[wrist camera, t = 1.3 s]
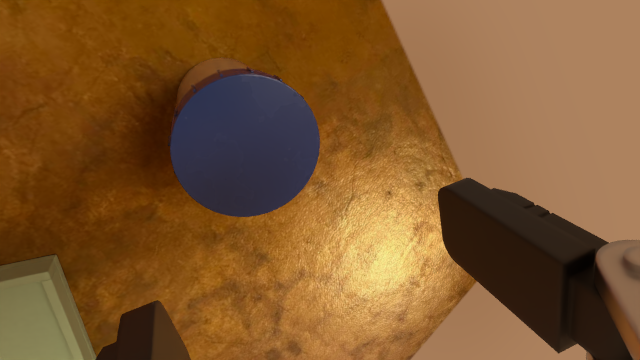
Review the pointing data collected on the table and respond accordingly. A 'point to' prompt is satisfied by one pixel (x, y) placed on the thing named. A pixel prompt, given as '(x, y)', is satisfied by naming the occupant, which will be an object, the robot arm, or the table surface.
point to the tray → (40, 314)
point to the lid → (243, 142)
